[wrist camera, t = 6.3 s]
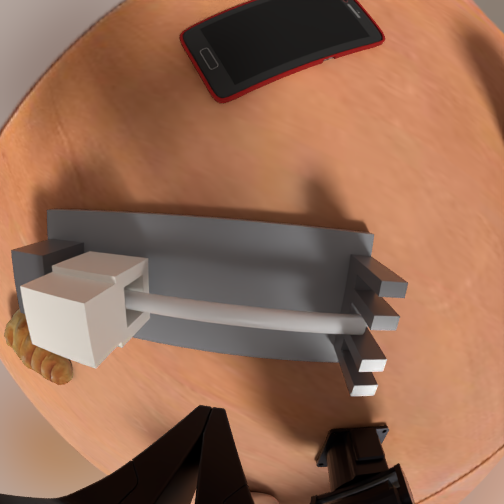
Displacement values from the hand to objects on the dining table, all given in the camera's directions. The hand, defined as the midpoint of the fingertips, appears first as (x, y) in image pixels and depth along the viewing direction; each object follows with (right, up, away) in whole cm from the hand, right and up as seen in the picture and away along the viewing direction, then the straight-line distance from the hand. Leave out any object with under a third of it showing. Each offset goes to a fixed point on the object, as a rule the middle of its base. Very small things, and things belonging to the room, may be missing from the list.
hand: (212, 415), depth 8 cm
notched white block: (-8, +3, +11) cm, 14 cm away
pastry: (-22, -5, +16) cm, 28 cm away
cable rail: (-4, +3, +13) cm, 14 cm away
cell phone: (+4, +22, +9) cm, 24 cm away
